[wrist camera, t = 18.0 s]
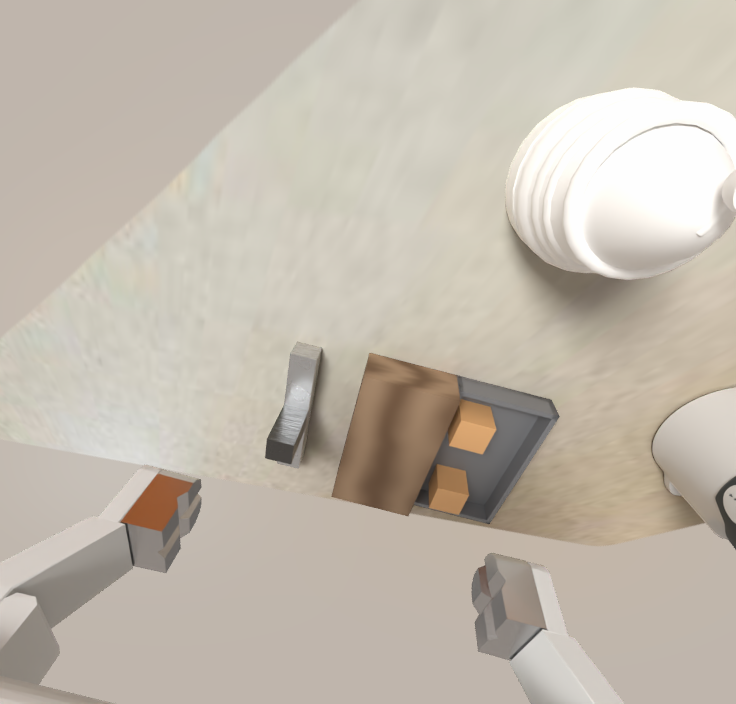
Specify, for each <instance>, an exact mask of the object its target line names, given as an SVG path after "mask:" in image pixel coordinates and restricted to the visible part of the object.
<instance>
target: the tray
mask: <svg viewBox="0 0 736 704" xmlns="http://www.w3.org/2000/svg"><path fill="white" fill-rule="evenodd" d="M457 381H458V388H459V395H460V400H461V399H463V400H466V401H470V402H474V403H478V404H482V405H485V406H489V407H491V410H492V414H493V418H494V422H495V426H496V431H495V433H494V435H493V437H492V438H491V440H490V442H489V444H488V446H487V447H486V449H485V451H484V453H483V454H478V453H475V452H471V451H467V450H463V449H459V448H456V447H452V446H449V439H448V430H447V432H446V435H445V437H444V439H443V441H442V443H441V445H440V448H439V450H438V452H437V454H436V456H435V459H434V461H433V463H432V465H431V467H430V470H429V472H428V474H427V476H426V478H425V481H424V483H423V485H422V487H421V489H420V492H419V494H418V496H417V498H416V500H415V503H414V505H416V506H420V507H424V508H428V509H431V508H429V485H428V483H429V481H430V479H431V476H432V474H433V472H434V469H435V467H436V465H437V464H439V465H443V466H447V467H452V468H456V469H460V470H464V471H466V477H467V484H468V492H469V496H468V498H467V500H466V502H465V504H464V506H463V508H462V510H461V512H460V514H459V515H457V514H452V513H448V512H444V511H440V510H436V509H432V510H436V511H440V512H444V513H448V514H452V515H456V516H460V517H463V518H467V519H471V520H475V521H479V522H483V523H487V524H490V522H491V521H492V519H493V518H494V516H495V515H496V513H497V512H498V510H499V509H500V507H501V506H502V504H503V503H504V501H505V499H506V498H507V496H508V495H509V493H510V492H511V490H512V489H513V487H514V486H515V484H516V483H517V481H518V479H519V478H520V476H521V475H522V473H523V472H524V470H525V469H526V467H527V466H528V464H529V463H530V461H531V460H532V458H533V456H534V455H535V453H536V452H537V450H538V449H539V447H540V446H541V444H542V443H543V441H544V440H545V438H546V436H547V435H548V433H549V432H550V430H551V429H552V427H553V426H554V424H555V423H556V421H557V420H558V418H559V417H560V416H559V414H558V412H557V410H556V408H555V406H554V404H553V402H552V400H550V399H546V398H542V397H538V396H534V395H531V394H527V393H523V392H519V391H515V390H511V389H507V388H504V387H500V386H496V385H492V384H488V383H484V382H480V381H477V380H473V379H469V378H465V377H461V376H457Z"/></svg>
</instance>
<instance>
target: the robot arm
mask: <svg viewBox="0 0 736 704" xmlns="http://www.w3.org/2000/svg"><path fill="white" fill-rule="evenodd" d="M652 451H653V456H654V459H655V461H656V462H657V464H658V465H659V466H660V468H661V469H662V470H663V472H664V483H665V486H666V488H667V489H668V490H669V491H670V492H671V493H672V494H674V495H678V496H683V497H684V499H685V500H686V501H687V502H688V503H689V504H690V506H691V507H692V508H693V509H694V510H695V511H696V512H697V514H698V515H699V516H700V517H701V518H702V519H703V520H704V522H705V523H706V524H707V525H708V526H709V527H710V528H711V530H712V531H713V532H714V533H715V534H716V535H717V536H719V537H721V538H725V539H728V540H729V541H730V542H731V544H732V545H733V546H734V548H735V549H736V387H734V388H729V389H724V390H720V391H716V392H713V393H710V394H707V395H704V396H702V397H700V398H697V399H695V400H693V401H691V402H689V403H688V404H686V405H684V406H683V407H681V408H680V409H678V410H677V411H676V412H674V413H673V414H672V415H671V416H670V417H669V418H668V419H666V421H665V422H664V423H663V424H662V425H661V427H660V428H659V430H658V431H657V433H656V435H655V438H654V441H653V446H652ZM200 489H201V479H197V478H194V477H190V476H186V475H182V474H179V473H175V472H171V471H167V470H164V469H161V468H157V467H153V466H149V465H144V466H142V467H141V468H140V469H138V470H137V472H136V473H135V474H134V475H133V476H132V477H131V479H130V480H129V481H128V482H127V483H126V485H125V486H124V487H123V488H122V489H121V490H120V491H119V493H118V494H117V495H116V496H115V497H114V499H113V500H112V501H111V502H110V504H109V505H108V506H107V507H106V508H105V509H104V510H103V512H102V513H101V514H100V515H99V517H95V516H91V517H89V518H87V519H85V520H83V521H81V522H79V523H77V524H75V525H73V526H71V527H69V528H67V529H65V530H63V531H61V532H60V533H57V534H56V535H54V536H52V537H50V538H48V539H46V540H44V541H42V542H40V543H38V544H36V545H34V546H32V547H30V548H28V549H26V550H24V551H22V552H20V553H18V554H16V555H14V556H13V557H10V558H9V559H7V560H5V561H3V562H1V563H0V704H114V703H110V702H106V701H102V700H98V699H94V698H90V697H86V696H82V695H77V694H74V693H70V692H66V691H61V690H58V689H53V688H49V687H45V686H41V685H39V684H40V682H41V681H42V679H43V678H44V676H45V675H46V673H47V672H48V670H49V669H50V667H51V666H52V664H53V663H54V661H55V660H56V658H57V657H58V656H59V653H60V651H59V645H58V643H57V641H56V638H55V636H54V634H53V632H52V630H51V628H53V627H54V626H55V625H57V624H58V623H59V622H61V621H62V620H64V619H65V618H66V617H68V616H69V615H70V614H72V613H73V612H74V611H76V610H77V609H78V608H80V607H81V606H82V605H84V604H85V603H87V602H88V601H89V600H91V599H92V598H93V597H95V596H96V595H97V594H99V593H100V592H101V591H103V590H104V589H105V588H107V587H108V586H110V585H111V584H112V583H114V582H115V581H116V580H118V579H119V578H120V577H122V576H123V575H124V574H126V573H127V572H128V571H130V570H131V569H132V568H133V566H136V567H141V568H145V569H150V570H154V571H159V572H163V573H166V572H167V570H168V569H169V567H170V566H171V564H172V562H173V560H174V559H175V557H176V555H177V553H178V552H179V550H180V538H182V537H183V536H185V535H187V534H188V533H190V531H191V529H192V527H193V526H194V524H195V522H196V519H197V517H198V514H199V512H200V508H201V497H200V495H199V494H198V492H199V490H200ZM472 602H473V605H474V607H475V608H476V610H477V612H478V613H479V616H478V618H477V619H476V621H475V629H476V637H477V646H478V651H479V652H482V653H486V654H489V655H493V656H496V657H500V658H503V659H507V660H510V662H509V663H510V665H511V667H512V668H513V670H514V672H515V674H516V676H517V678H518V680H519V682H520V684H521V686H522V687H523V689H524V691H525V693H526V695H527V697H528V699H529V701H530V703H531V704H624V702H623V701H622V700H621V698H620V697H619V696H618V694H617V693H616V692H615V690H614V689H613V688H612V686H611V685H610V684H609V682H608V681H607V680H606V679H605V677H604V676H603V675H602V673H601V672H600V671H599V669H598V668H597V667H596V665H595V664H594V663H593V661H592V660H591V659H590V657H589V656H588V655H587V653H586V652H585V651H584V650H583V648H582V647H581V646H580V644H579V643H578V642H577V640H576V639H575V638H574V637H572V636H569V635H568V632H567V629H566V625H565V622H564V619H563V615H562V612H561V609H560V606H559V602H558V599H557V596H556V592H555V589H554V586H553V583H552V579H551V576H550V573H549V571H548V569H547V568H546V567H545V566H543V565H538V564H534V563H530V562H526V561H524V560H520V559H515V558H512V557H507V556H503V555H499V554H495V553H490V554H488V555H487V556H486V558H485V566H483V567H480V568H478V569H477V571H476V573H475V574H474V578H473V582H472Z"/></svg>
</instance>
